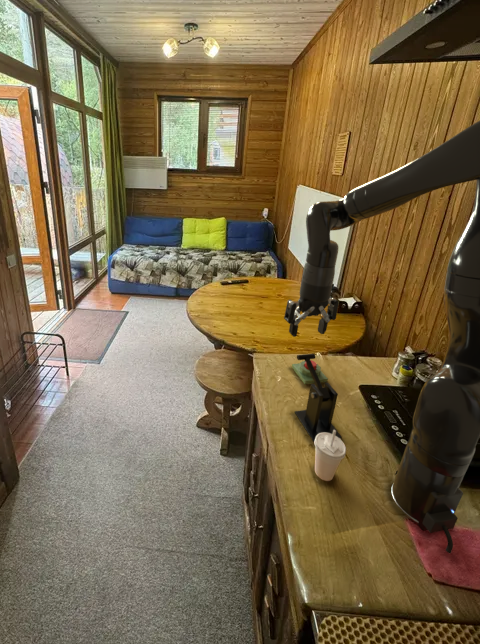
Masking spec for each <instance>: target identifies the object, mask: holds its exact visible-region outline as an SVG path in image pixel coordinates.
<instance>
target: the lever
mask: <svg viewBox="0 0 480 644" xmlns="http://www.w3.org/2000/svg"><path fill="white" fill-rule="evenodd" d="M296 359H297V361H305V362H306V364H307V366H308V369H309V371H310V373H311V375H312V378H313V380H314V382H315V383H314V384H315V385H316V387H317V388H318V389H319V390H320V392H321V393H322V394H323V395H324V396H323V401H322V402H326V401H328V400H329V399H330V398H331V396H330V394H329V392H328V390H327V388H326V387H324V386H323V385H322V383H321V382H320V380H319V378H318V376H317V374H316V371H315V369H314V367H313V365H312V363H311V360H315V359H316V354H315V353H303V354H296Z"/></svg>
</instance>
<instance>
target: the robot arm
mask: <svg viewBox="0 0 480 644" xmlns="http://www.w3.org/2000/svg"><path fill="white" fill-rule="evenodd" d="M473 181H476V186H475V195H474V202H473V206H472V211H471V214H470V216H469V217H468V221H467V222H466V224H465V226H464V228H463V230H462V232H461V233H460V235H459V238H458V239H457V241H456V244H455V245H454V247H453V249H452V253H451V254H450V257H449V260H448V263H447V268H446V274H445V281H444V287H443V306H444V313H445V318H446V321H447V326H448V340H447V341H448V342H447V346H446V350H445V351H446V352H445V354H444V357H443V361H442V363H441V366H440V368H439V369H438V370H437V372H435V373H434V374H433V375H432V376H431V377H430V378H429V379H427V380H426V381H425V383H424V384H423V386H422V388H421V390H420V393H419V395H418V399H417V402H416V405H415V408H414V412H413V416H412V428H411V431H410V435H409V436H408V437H409V438H408V441H407V443H406V446H405V448H404V452H403V454H402V457H401V461H400V463H399V466H398V469H397V470H396V471H395V473H394V475H395V478H394V480H393V484H392V485H391V495H392V498H393V501H394V502H395V503H396V505H397V506H398V508H399V509H401V511H402V512H403V513H404V514H406V515H407V516H408V517H409V518H408V521H410V522H412V523H413V524H415V525H417V526H418V527H419V528H420V530H422V531H423V532H427V531H428V532H429V533H430V534H433V533H439V532H444V534H445V537H446V540H447V541H446V542H447V545H446V547H445V552H446V553H448V554H452V552H453V548H454V543H453V542H454V541H453V538H452V535H451V532H450V530H453V529H454V528H455V525H456V524H457V521H458V519H459V517H458V516H457V515H456V514H455V513H456V511H457V509H458V506H459V504H460V502H461V500H462V497H463V495H464V491H463V490H461V489H460V486H461V484H462V482H463V480H464V477H465V476H466V472H467V471H468V469H469V466H470V464H471V462H472V460H473V458H474V455H475V453H476V446H477V444H478V441H479V439H480V120H478V121H476V122H474V123H473V124H471V125H470V126H467V128H466V127H465V129H463V130H462V131H460V132H458V133H457V134H455V135H454V136H452V137H451V138H449V139H448V140H446V141H444V142H443V143H440V144H439V145H438V146H437V147H434V148H433V149H432V150H429V151H428V152H426V153H425V154H422V155H421V156H419V157H418V158H416V159H414V160H412V161H410V162H408V163H406V164H405V165H403V166H401V167H399V168H397V169H395V170H393V171H390V172H388V173H386V174H384V175H381V176H379V177H377V178H375V179H373V180H370V181H367V182H365V183H363V184H362V185H359V186H357V187H354V188H353V189H352V190H350V191H348V192H347V193H346V194H345V196H344V198H341V199H338V200H330V201H329V200H327V201H318V202H315V203H313V204H312V206H310V208H309V209H308V211H307V214H306V217H305V227H306V239H307V244H308V246H307V253H306V257H305V263H304V265H303V270H302V276H301V281H300V287H299V299H298V300H292V299H288V300H287V302H286V306H285V311H284V315H283V320H284V321H286V322H287V323H288V324H289V328H288V333H289V334H290V335H291V336H292V337H293V338H296V337H297V336H298V331H299V324H300V323H301V321H305V319H306V318H307V317H312V316H313V317H318V316H319V317H320V319H319V321H318V325H317V332H318V333H319V334H320V335H324V334H325V333H326V332H327V328H328V325H329V324H328V323H330V321H335V320H336V319H337V314H338V308H339V304H340V303H339V302H340V301H339V300H338V299H336V298H335V297H333V296H331V295H332V289H333V284H334V280H335V275H336V274H335V272H336V266H337V265H336V264H337V259H338V255H339V244H338V243H337V242H336V241H334V240H332V239H331V232H332V231H333V232H334V231H339V230H340V231H341V230H344V229H347V228H349V227H351V226H354V225H355V224H358V223H359V222H362V221H363V220H367V219H370V218H373V217H376V216H378V215H383V214H384V213H387V212H390V211H392V210H395V209H397V208H399V207H401V206H404V205H405V204H407V203H409V202H411V201H413V200H414V199H417V198H418V197H420V196H421V197H422V196H423V195H425V194H428V193H430V192H434V191H436V190H440V189H442V188H446V187H450V186H454V185H459V184H463V183H467V182H473Z"/></svg>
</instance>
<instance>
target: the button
mask: <svg viewBox="0 0 480 644" xmlns="http://www.w3.org/2000/svg"><path fill="white" fill-rule="evenodd" d="M310 360H311V363H312V365H313V367H314V369H315V370H316V366H317V364H318V363H317V362H316V361H314V360H313V359H310ZM305 368H306V369H308V366H307V364H306V362H305ZM308 370H309V369H308Z"/></svg>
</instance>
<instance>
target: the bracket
mask: <svg viewBox="0 0 480 644" xmlns="http://www.w3.org/2000/svg"><path fill="white" fill-rule="evenodd" d="M323 387H326V388H327V390H328V392H329V394H330V396H331V398H330V399H329V400H328V401H326V402H322V401H323V396H324V395H323V394H322V393H321V392H320V390H319V389H318V388H317V387H316V384H315V383H312V384H310V387H309V392H308V397H307V403H306V408H305V409H302V410H295V411H294V414H295V416H296V417H297V419H298V420H299V422H300V424H301V425H302V427H303V428H304V430H305V431H306V433H307V434H308V436H309V438H310V439H311V441H312V442H313V443H314V441H315V438H316V436H317V435H318V434H319V433H323V432H326V433H331V434H333V430H336V434H335V436H337V437H338V438H340V439H342V436H341V435H342V434H340V433H339V431H338V430H337V429H336V427H335V426H334V425H333V423H332V422H333V417H334V414H335V409H336V405H337V401H338V396H339V393H338V392H337V391H336V390H335V389H334V387H333V386H332V385H331V384H330V383H329V382H324V385H323Z"/></svg>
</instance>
